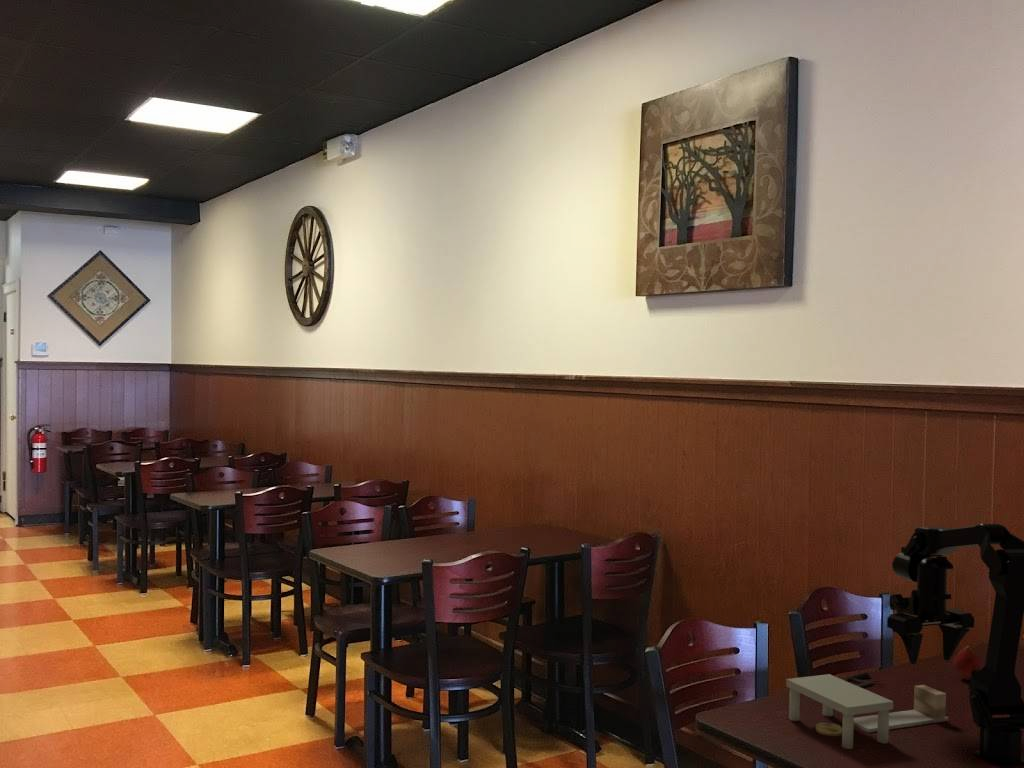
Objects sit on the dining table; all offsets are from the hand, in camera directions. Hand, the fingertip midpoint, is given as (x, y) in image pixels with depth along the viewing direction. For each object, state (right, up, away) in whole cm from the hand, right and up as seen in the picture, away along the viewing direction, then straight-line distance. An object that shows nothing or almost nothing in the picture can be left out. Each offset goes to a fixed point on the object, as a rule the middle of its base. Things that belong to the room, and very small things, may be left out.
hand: (929, 662), depth 202 cm
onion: (+20, -12, +27) cm, 36 cm away
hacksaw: (-11, -12, +18) cm, 24 cm away
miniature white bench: (-22, -11, -9) cm, 26 cm away
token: (-24, -11, -10) cm, 28 cm away
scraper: (-8, -12, -3) cm, 14 cm away
